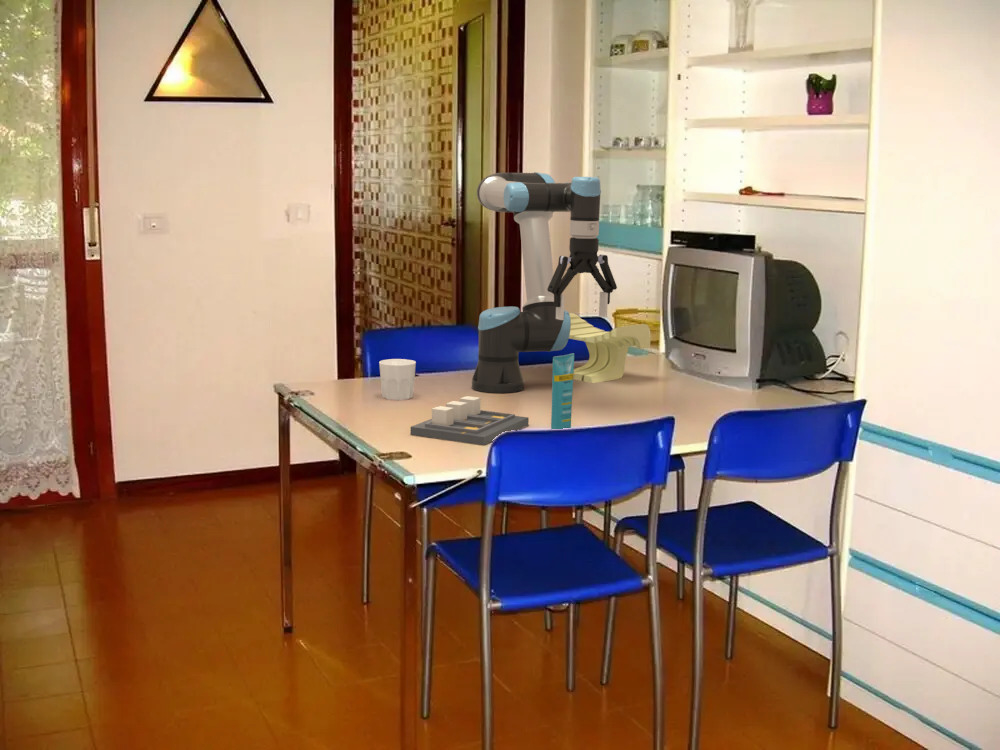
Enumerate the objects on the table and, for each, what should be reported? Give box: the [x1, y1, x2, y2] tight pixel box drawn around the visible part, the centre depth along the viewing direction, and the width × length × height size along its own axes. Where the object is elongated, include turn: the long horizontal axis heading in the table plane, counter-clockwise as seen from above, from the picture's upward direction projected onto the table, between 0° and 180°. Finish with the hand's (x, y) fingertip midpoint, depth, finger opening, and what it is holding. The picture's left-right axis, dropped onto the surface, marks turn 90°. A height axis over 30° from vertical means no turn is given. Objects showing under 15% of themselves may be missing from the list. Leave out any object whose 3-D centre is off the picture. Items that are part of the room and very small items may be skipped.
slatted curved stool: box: [568, 312, 652, 384], centre depth 360 cm, size 30×16×18 cm, turn 44°
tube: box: [550, 353, 575, 430], centre depth 287 cm, size 7×5×19 cm, turn 139°
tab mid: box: [445, 400, 467, 420], centre depth 290 cm, size 4×4×4 cm
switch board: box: [410, 409, 529, 446], centre depth 289 cm, size 20×24×3 cm
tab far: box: [459, 395, 482, 415], centre depth 296 cm, size 4×4×4 cm
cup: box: [378, 358, 417, 401], centre depth 325 cm, size 10×10×10 cm
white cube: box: [431, 405, 454, 426], centre depth 284 cm, size 4×4×4 cm
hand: (581, 318), depth 309 cm, fingers open, 13 cm apart
